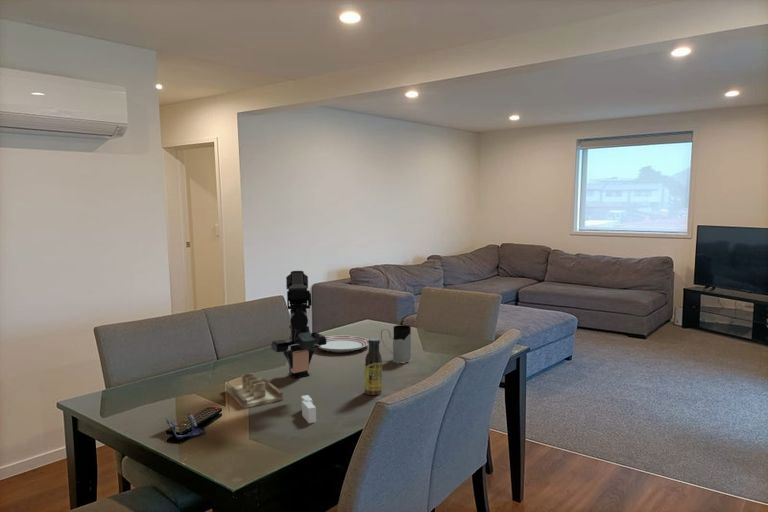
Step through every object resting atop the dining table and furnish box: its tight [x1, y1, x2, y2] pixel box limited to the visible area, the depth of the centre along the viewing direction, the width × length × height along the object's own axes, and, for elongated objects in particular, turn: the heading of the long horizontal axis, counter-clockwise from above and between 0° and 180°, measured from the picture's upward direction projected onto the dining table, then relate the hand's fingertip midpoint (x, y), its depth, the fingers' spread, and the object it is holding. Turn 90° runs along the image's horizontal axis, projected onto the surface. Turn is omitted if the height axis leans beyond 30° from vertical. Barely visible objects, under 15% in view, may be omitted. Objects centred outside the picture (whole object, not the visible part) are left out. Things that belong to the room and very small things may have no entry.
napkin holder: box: [300, 394, 317, 424], centre depth 171 cm, size 15×11×6 cm
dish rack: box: [225, 372, 284, 409], centre depth 189 cm, size 14×20×6 cm
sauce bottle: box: [363, 337, 383, 396], centre depth 191 cm, size 7×6×20 cm
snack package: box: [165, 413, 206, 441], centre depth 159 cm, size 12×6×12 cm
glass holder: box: [380, 324, 413, 363], centre depth 231 cm, size 9×14×15 cm, turn 71°
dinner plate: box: [318, 334, 369, 353], centre depth 253 cm, size 27×27×3 cm
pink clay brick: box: [291, 350, 310, 373], centre depth 186 cm, size 6×2×7 cm, turn 123°
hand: (299, 366), depth 186 cm, fingers closed on pink clay brick, 6 cm apart
